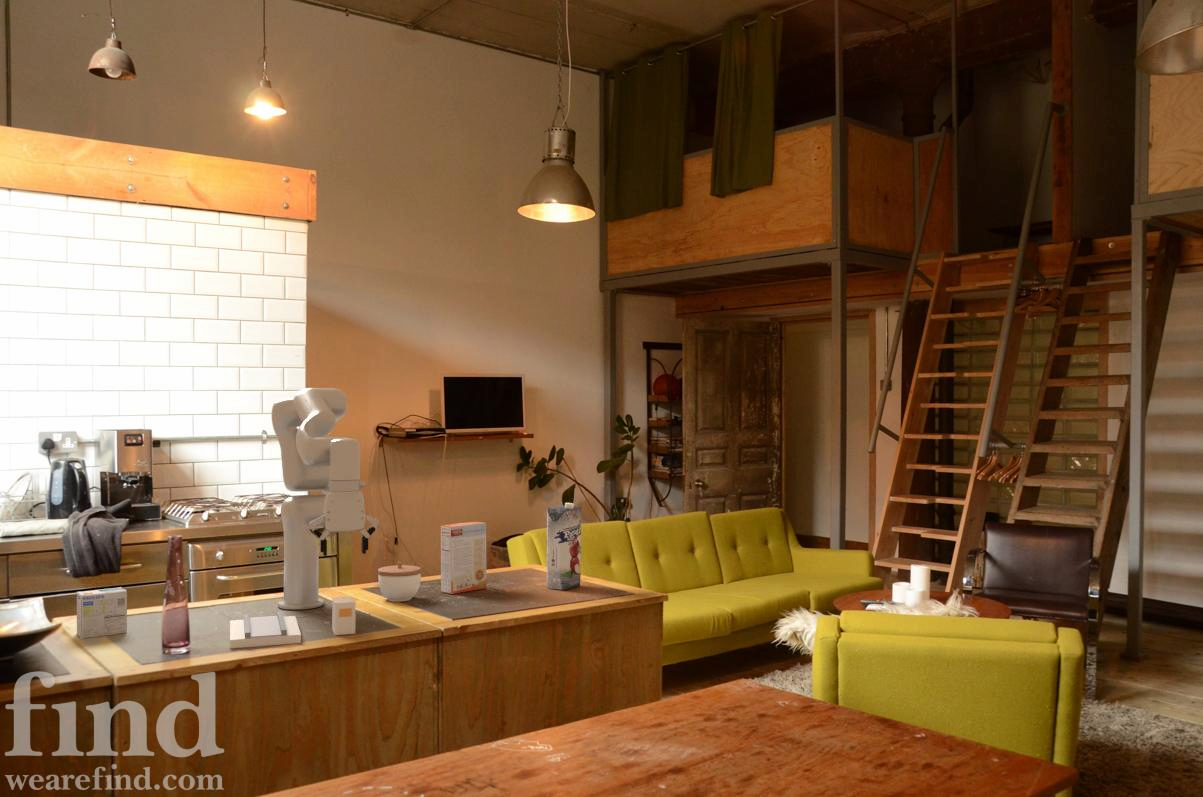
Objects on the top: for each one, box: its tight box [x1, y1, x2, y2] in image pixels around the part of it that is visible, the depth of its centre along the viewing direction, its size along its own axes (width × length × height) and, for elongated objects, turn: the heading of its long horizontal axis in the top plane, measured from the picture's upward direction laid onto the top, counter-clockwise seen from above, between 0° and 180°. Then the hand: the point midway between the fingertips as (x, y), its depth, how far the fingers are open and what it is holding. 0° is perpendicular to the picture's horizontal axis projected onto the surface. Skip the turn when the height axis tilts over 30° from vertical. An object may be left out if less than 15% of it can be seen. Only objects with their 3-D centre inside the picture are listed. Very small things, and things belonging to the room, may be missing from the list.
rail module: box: [331, 596, 357, 636], centre depth 243 cm, size 7×5×8 cm
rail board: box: [229, 611, 302, 649], centre depth 238 cm, size 22×16×3 cm
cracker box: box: [440, 521, 487, 595], centre depth 298 cm, size 14×6×21 cm, turn 136°
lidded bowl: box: [377, 561, 422, 603], centre depth 284 cm, size 13×13×11 cm
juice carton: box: [546, 502, 582, 591], centre depth 304 cm, size 9×10×27 cm
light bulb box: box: [76, 586, 128, 639], centre depth 240 cm, size 11×7×11 cm, turn 129°
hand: (344, 554), depth 243 cm, fingers open, 9 cm apart
